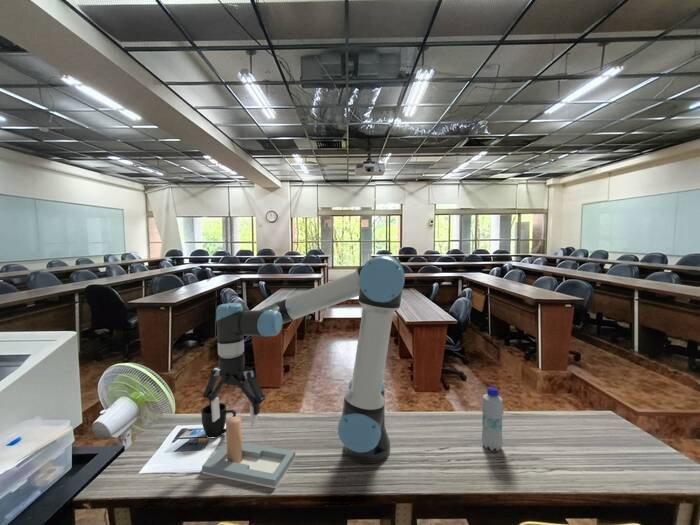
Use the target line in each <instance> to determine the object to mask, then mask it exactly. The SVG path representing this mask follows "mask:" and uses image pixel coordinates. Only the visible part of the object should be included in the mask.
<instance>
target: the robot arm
mask: <svg viewBox="0 0 700 525" xmlns="http://www.w3.org/2000/svg"><path fill="white" fill-rule="evenodd" d="M405 279H406V275H405V270H404V266H403V265H402V263H401V262H400V260H398V258H396V257H394V256H391V255H387V254H380V255H376V256H374V257H371V258H370V259H368V260H367V261H366V262H365V263H364V264H362V265H361V266H359V267H356V270H355V271H354V272H352V273H349V274H347V275H344V276H341V277H339V278H336V279H334V280H331V281H328V282H326V283H323V284H321V285H318V286H316V287H313V288H311V289H308V290H304V291H302V292H300V293H298V294H296V295H293V296H290V297H287V298H285V299H282V300H279V301H275V302H274V303H272V304H270V305H268V306H265V307H263V308H261V309H259V310H257V309H256V310H245V309H243V305H242V303H240V302H239V303H238V302H229V303H222V304H219V305H218V306H216V311H215V312H216V316H215V322H216V330H217V331H216V333H217V354H218V366H216V367H214V368H213V369H211V370H210V377H209V380H208V382H207V385H206V388H205V389H204V392H203V394H202V397H203V398H204V399H207V400H208V401H209V402H208V403H209V405H210V410H212V422H215V421H216V420H217V419H219V418H220V408H219V403H220V397H218V395H219V393H220V392H221V391H222V390H223V388H224V387H225V385H227V386H234V387H235V386H237V388H238V389H240V390H241V391H242V392H243V394H244V396H246V398H247V400H249V402H250V403H251V404H249V412H250V414H249V415H250V427H251V428H254V427H255V426H256V425H257V424H258V423H259V417H258V416H259V415H258V414H259V413H260V412H261V409H260V405H261V404H262V403H263V402H264V401H265V400H266V397H265V394H264V393H263V390H262V388H261V386H260V384H259V382H258V380H257V378H256V373H255V370H254V369H250V370H246V369H245V364H246V360H245V359H246V357H245V355H246V354H245V353H244V352H245V339H244V337H247V336H248V337H250V336H251V337H275V336H277V335H279V334H280V333H281V330H282V329H283V325H284V324H286V323H289V322H292V321H294V320H297V319H299V318H302V317H305V316H308V315H310V314H313V313H315V312H318V311H321V310H324V309H327V308H329V307H332V306H335V305H337V304H340V303H342V302H346V301H349V300H351V299H353V298H357V297H358V299H357V300H358V303H359V304H360V306H361V308H362V311H361V320H360V324H359V331H358V339H357V344H356V345H357V346H356V352H355V359H354V360H355V361H354V367H353V374H352V378H351V380H349V382H348V383H349V384H348V389H347V390H346V391H345V393H344V399H343V404H342V406H343V407H342V413H341V418H339V419H340V420H339V421H338V424H337V425H338V427H337V434H338V438H339V440H340V441H341V443H342V444H343V445H344V447H343V448H344V453H345V455H346V456H347V457H349V459H351V460H353V461H355V462H357V463H362V464H375V463H378V462H379V463H380V462H381V461H383V460H385V459H386V458H387V457H388V456H389V455H390V453H391V441H390V438H389V435H388V432H387V428H386V424H385V422H386V420H385V414H386V413H385V410H386V409H385V408H386V406H385V404H386V398H385V392H386V389H385V383H384V376H385V369H386V363H387V356H388V350H389V342H390V336H391V329H392V323H393V316H394V313H395V312H396V311H397V310H399V309H400V306H401V301H402V296H403V295H402V293H403V290H404V289H403V288H404V287H405V283H406V282H405ZM219 376H220V378H221V379H220V380H219V382H218V383H217V381H218V378H219ZM216 383H217V385H216Z"/></svg>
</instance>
